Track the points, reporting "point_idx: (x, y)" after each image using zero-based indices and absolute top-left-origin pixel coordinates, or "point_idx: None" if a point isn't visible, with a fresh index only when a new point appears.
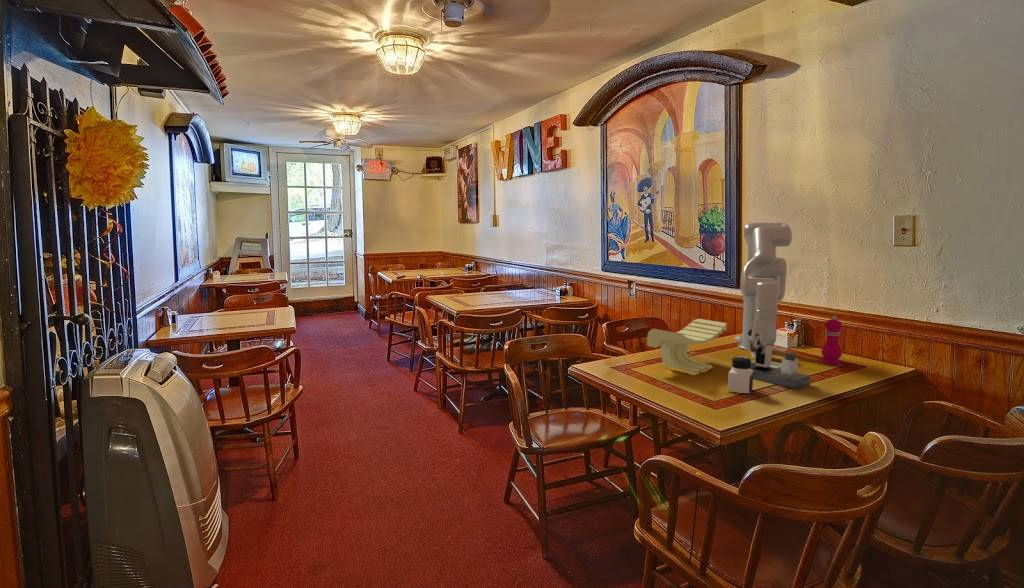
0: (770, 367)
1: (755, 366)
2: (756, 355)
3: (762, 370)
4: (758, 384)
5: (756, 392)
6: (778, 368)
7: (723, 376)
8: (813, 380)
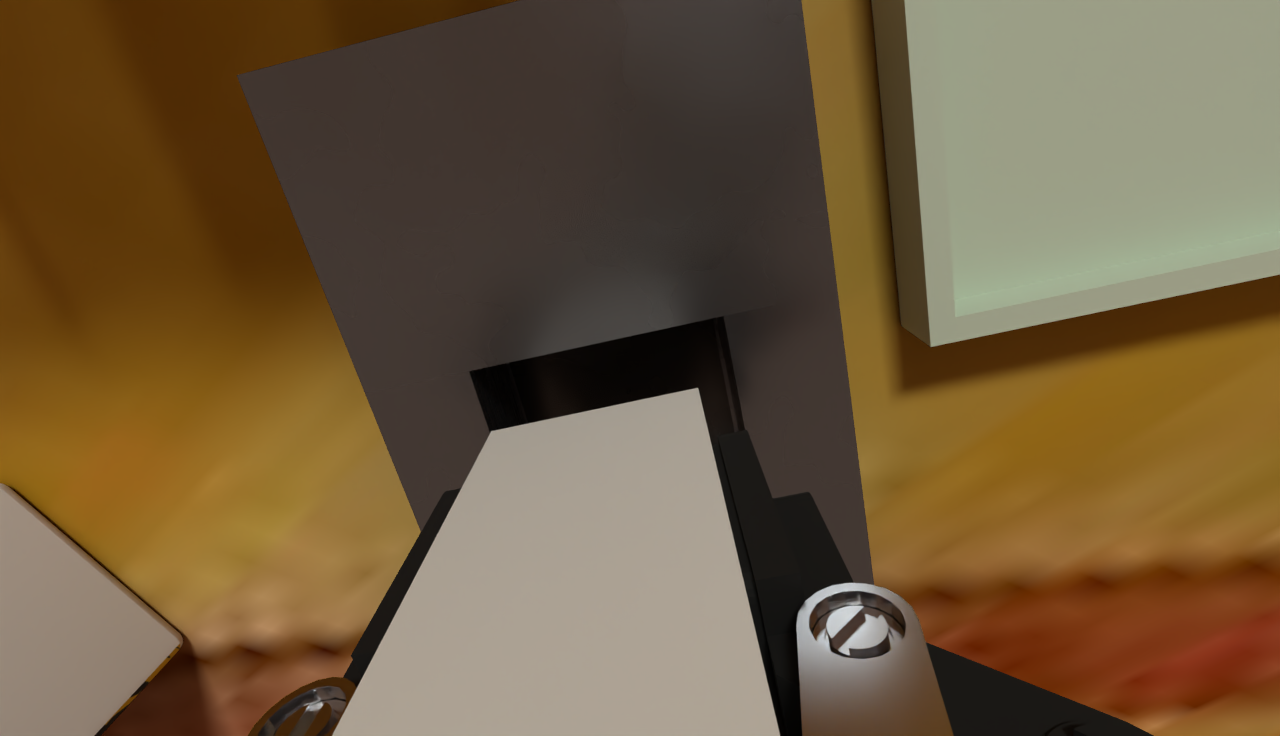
0: (817, 448)
1: (636, 291)
2: (392, 609)
3: (725, 344)
4: (380, 550)
5: (175, 706)
6: (1137, 295)
7: (129, 74)
8: (1065, 692)
